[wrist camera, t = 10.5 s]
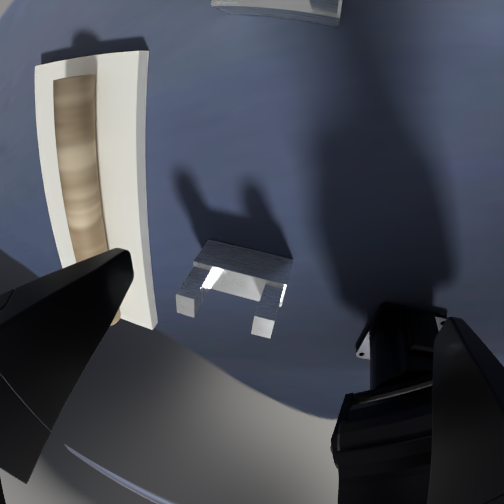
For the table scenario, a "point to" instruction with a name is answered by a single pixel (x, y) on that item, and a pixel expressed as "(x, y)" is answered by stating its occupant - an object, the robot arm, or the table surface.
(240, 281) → the aluminium cradles
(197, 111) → the table surface
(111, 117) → the cutting board
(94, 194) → the beech dowel
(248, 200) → the table surface
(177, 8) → the table surface
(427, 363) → the robot arm
